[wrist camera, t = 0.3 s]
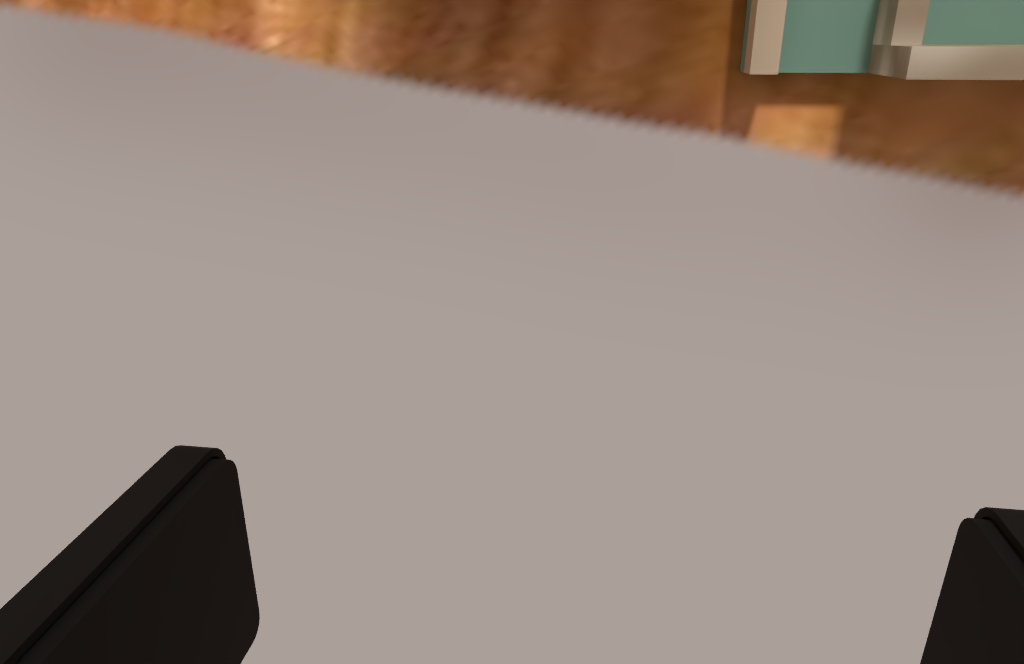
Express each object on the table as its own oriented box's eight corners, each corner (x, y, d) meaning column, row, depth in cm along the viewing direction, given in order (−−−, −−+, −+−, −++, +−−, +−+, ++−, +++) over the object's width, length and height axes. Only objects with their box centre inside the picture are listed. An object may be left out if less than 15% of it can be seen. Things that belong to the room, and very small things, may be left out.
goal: (888, -52, 31) (932, -66, 27) (1125, -56, 30) (1212, -71, 26) (867, 73, 33) (905, 79, 29) (1089, 73, 32) (1164, 81, 28)
